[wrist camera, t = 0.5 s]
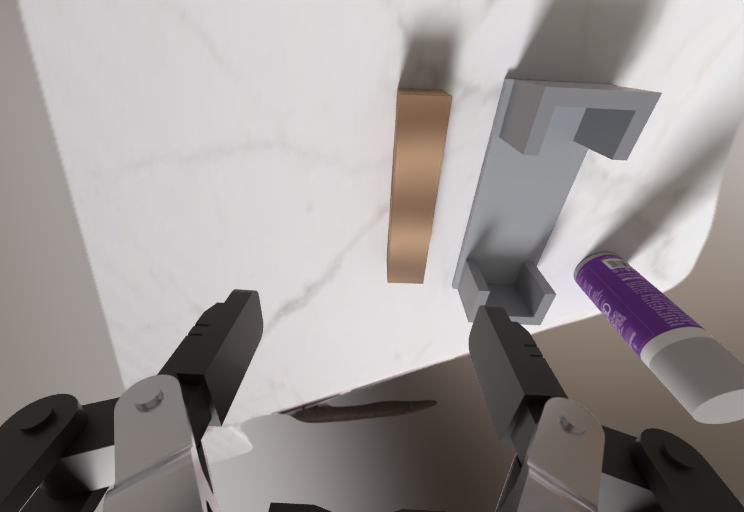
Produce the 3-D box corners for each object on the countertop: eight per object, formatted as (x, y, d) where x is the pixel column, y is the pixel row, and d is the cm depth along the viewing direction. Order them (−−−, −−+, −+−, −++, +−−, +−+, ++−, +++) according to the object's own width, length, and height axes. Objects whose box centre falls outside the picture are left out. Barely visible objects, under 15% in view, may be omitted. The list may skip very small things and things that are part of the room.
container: (565, 270, 32) (681, 407, 20) (609, 243, 30) (768, 377, 18) (585, 293, 34) (703, 431, 22) (628, 269, 32) (785, 406, 20)
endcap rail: (504, 78, 22) (537, 86, 18) (611, 84, 22) (670, 93, 18) (451, 285, 34) (463, 321, 29) (522, 288, 34) (545, 325, 29)
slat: (397, 88, 23) (400, 94, 20) (441, 89, 23) (452, 96, 20) (386, 258, 32) (387, 282, 29) (418, 259, 32) (423, 283, 29)
